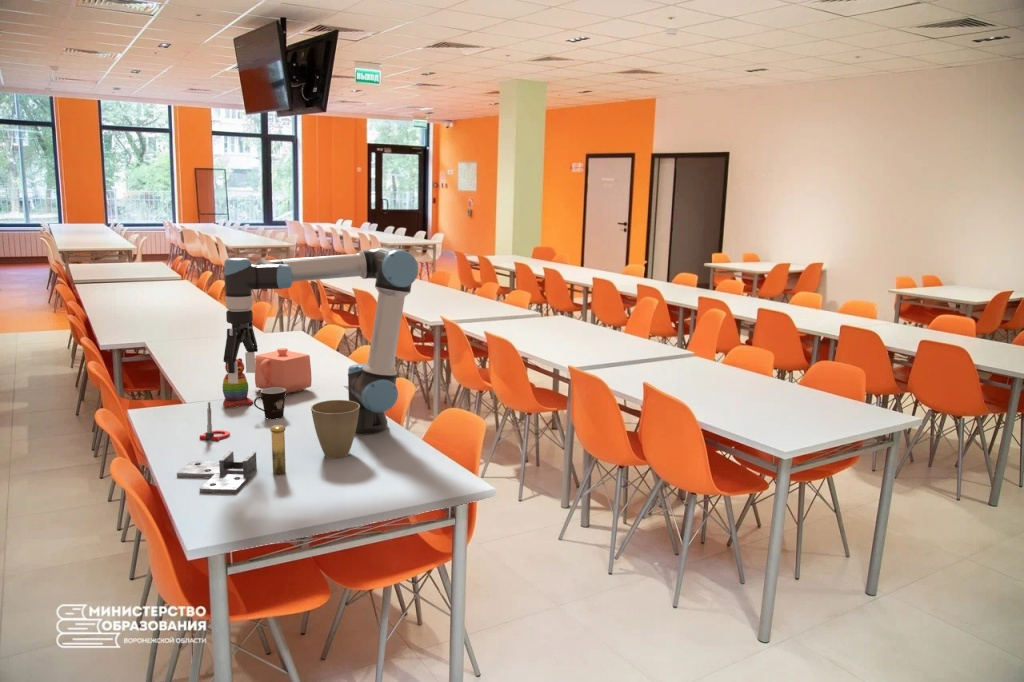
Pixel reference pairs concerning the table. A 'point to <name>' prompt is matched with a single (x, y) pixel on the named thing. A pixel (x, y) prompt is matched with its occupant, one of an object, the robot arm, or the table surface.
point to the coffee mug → (272, 402)
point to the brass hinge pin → (278, 449)
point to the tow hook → (210, 434)
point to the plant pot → (335, 426)
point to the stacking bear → (236, 389)
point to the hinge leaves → (221, 473)
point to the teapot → (283, 370)
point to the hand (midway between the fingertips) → (242, 377)
